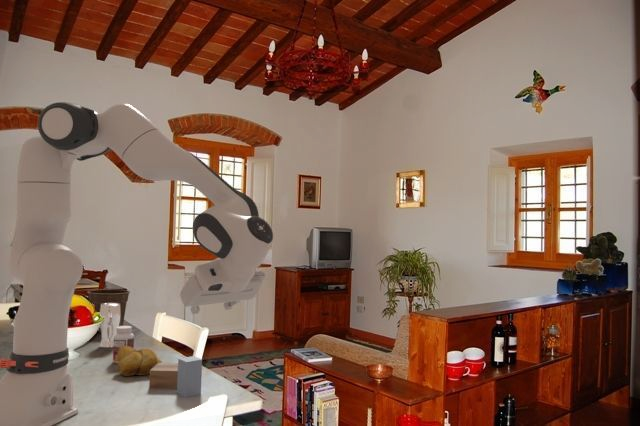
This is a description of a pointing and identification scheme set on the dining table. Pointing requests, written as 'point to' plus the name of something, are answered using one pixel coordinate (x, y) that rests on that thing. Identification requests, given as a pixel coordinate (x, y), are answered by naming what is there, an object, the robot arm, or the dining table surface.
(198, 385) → the slate block
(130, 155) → the robot arm
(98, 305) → the plant pot
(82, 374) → the dining table surface
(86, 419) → the dining table surface
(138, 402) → the dining table surface
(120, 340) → the pill bottle
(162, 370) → the walnut block
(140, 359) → the bread roll
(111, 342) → the beer glass
